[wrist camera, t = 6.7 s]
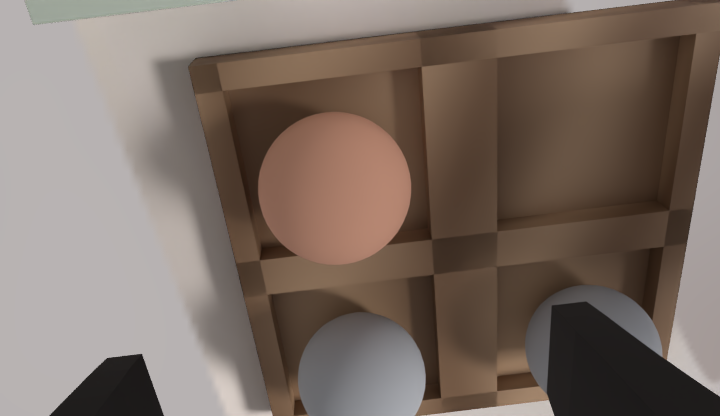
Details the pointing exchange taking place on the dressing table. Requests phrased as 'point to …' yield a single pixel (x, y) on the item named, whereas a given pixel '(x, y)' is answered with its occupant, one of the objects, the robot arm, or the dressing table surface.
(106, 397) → the robot arm
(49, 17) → the card
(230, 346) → the dressing table surface
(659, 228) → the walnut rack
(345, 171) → the terracotta ball
